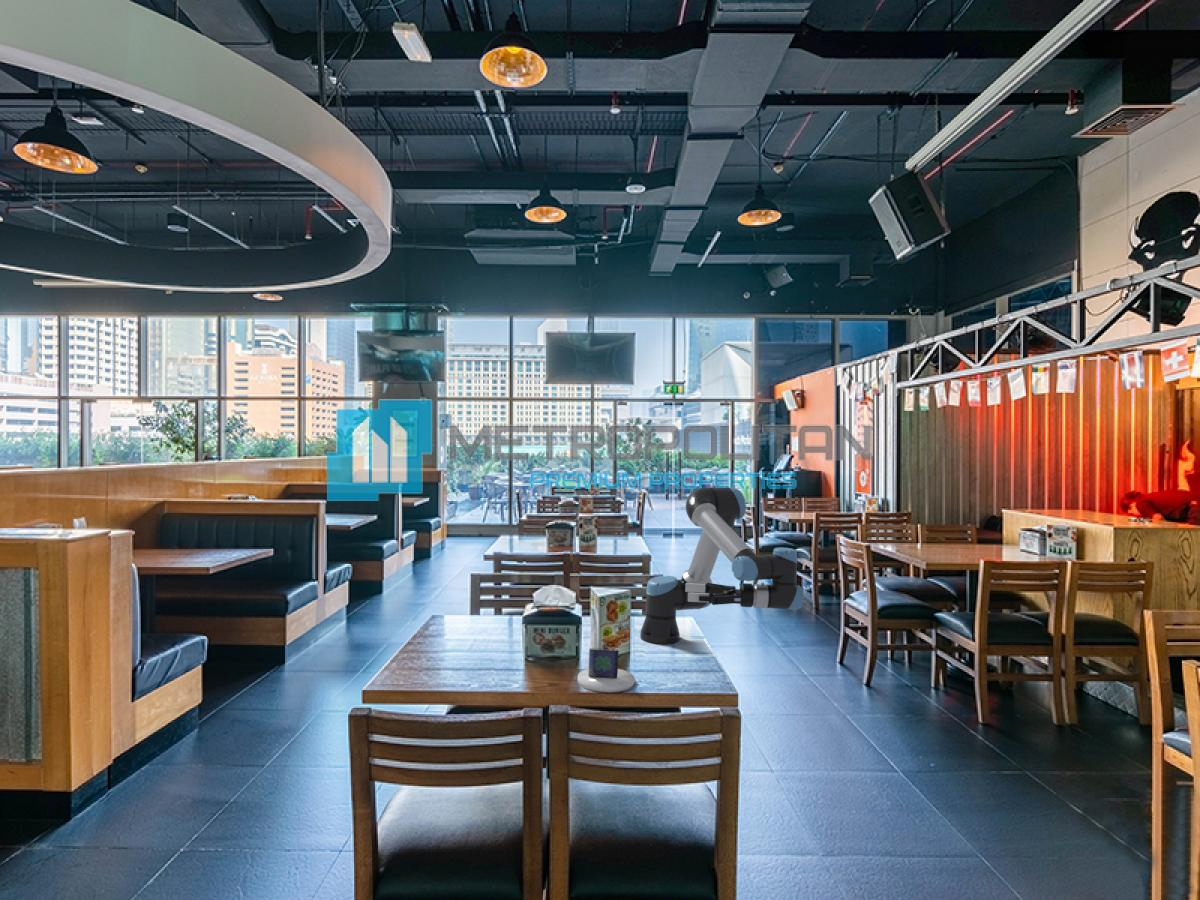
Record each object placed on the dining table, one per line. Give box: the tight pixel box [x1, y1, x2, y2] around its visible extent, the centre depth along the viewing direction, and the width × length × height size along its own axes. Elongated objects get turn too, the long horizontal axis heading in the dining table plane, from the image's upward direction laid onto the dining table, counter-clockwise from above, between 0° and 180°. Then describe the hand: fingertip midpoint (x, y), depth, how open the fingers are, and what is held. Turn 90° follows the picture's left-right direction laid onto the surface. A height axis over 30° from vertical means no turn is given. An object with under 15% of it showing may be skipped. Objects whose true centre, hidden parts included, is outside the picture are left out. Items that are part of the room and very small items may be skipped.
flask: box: [588, 642, 619, 679], centre depth 219 cm, size 9×3×11 cm, turn 87°
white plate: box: [577, 668, 635, 693], centre depth 219 cm, size 18×18×2 cm
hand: (686, 592), depth 224 cm, fingers open, 13 cm apart
